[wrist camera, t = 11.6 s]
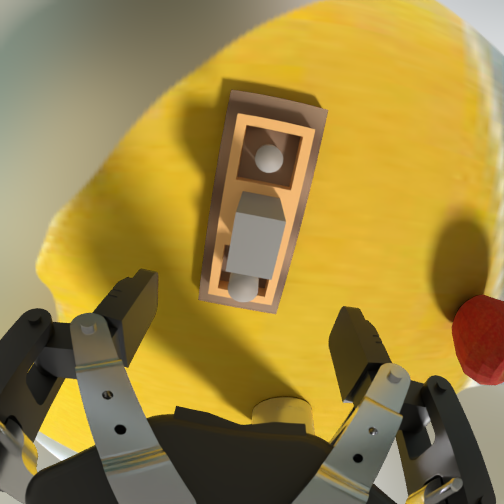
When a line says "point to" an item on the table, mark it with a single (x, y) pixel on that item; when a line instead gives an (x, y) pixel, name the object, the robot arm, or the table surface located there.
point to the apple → (480, 339)
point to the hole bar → (257, 214)
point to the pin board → (262, 169)
